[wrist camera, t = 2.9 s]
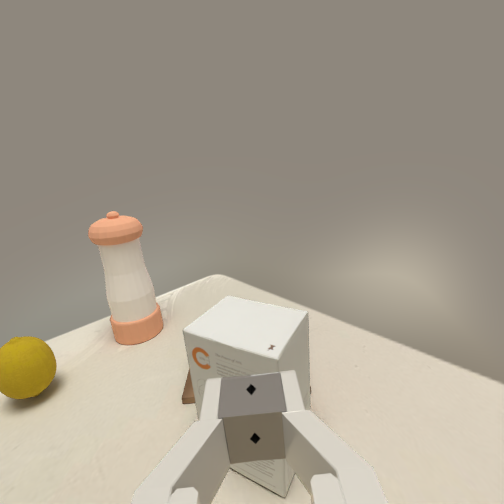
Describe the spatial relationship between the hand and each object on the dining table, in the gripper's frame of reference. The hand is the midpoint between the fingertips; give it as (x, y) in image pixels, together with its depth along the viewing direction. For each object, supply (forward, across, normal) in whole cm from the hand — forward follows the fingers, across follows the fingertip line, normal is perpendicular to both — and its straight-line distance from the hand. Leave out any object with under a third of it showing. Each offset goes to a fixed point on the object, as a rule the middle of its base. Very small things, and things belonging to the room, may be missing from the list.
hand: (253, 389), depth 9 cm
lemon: (+19, +27, +17) cm, 37 cm away
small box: (+11, +1, +18) cm, 21 cm away
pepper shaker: (+31, +19, +17) cm, 40 cm away
